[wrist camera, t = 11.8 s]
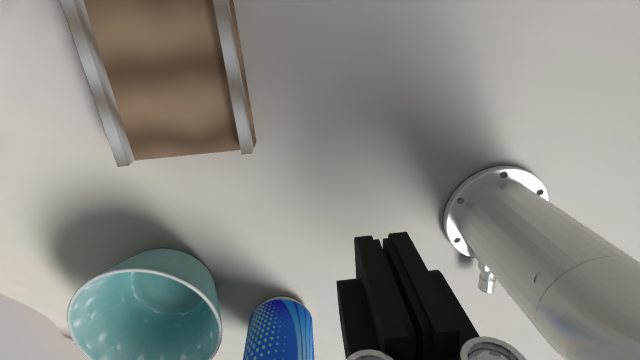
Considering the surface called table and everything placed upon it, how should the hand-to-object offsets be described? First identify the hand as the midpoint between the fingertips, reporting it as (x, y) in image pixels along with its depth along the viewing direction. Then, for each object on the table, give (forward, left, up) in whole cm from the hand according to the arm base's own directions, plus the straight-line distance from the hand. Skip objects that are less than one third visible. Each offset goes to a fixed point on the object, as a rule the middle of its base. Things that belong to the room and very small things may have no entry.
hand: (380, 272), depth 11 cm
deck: (+9, +14, -27) cm, 32 cm away
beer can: (-28, +8, -27) cm, 40 cm away
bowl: (-20, +21, -27) cm, 40 cm away
